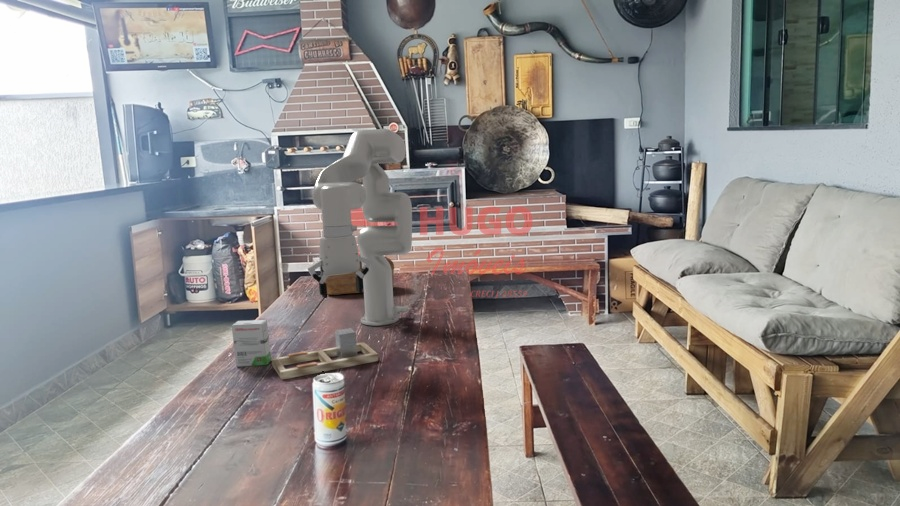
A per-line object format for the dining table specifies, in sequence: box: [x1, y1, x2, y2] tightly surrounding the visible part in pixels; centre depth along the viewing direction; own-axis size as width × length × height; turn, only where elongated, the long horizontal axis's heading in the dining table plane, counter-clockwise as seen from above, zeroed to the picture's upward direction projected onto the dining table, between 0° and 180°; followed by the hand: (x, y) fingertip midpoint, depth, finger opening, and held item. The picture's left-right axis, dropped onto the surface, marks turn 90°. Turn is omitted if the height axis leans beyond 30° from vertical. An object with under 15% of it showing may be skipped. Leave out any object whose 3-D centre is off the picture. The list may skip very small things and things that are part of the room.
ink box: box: [231, 319, 272, 368], centre depth 176 cm, size 9×5×12 cm, turn 89°
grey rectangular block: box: [334, 327, 358, 360], centre depth 176 cm, size 4×4×8 cm
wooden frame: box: [271, 341, 379, 380], centre depth 174 cm, size 26×12×2 cm, turn 116°
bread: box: [325, 254, 395, 296], centre depth 256 cm, size 12×28×14 cm, turn 99°
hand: (342, 294), depth 174 cm, fingers open, 9 cm apart
